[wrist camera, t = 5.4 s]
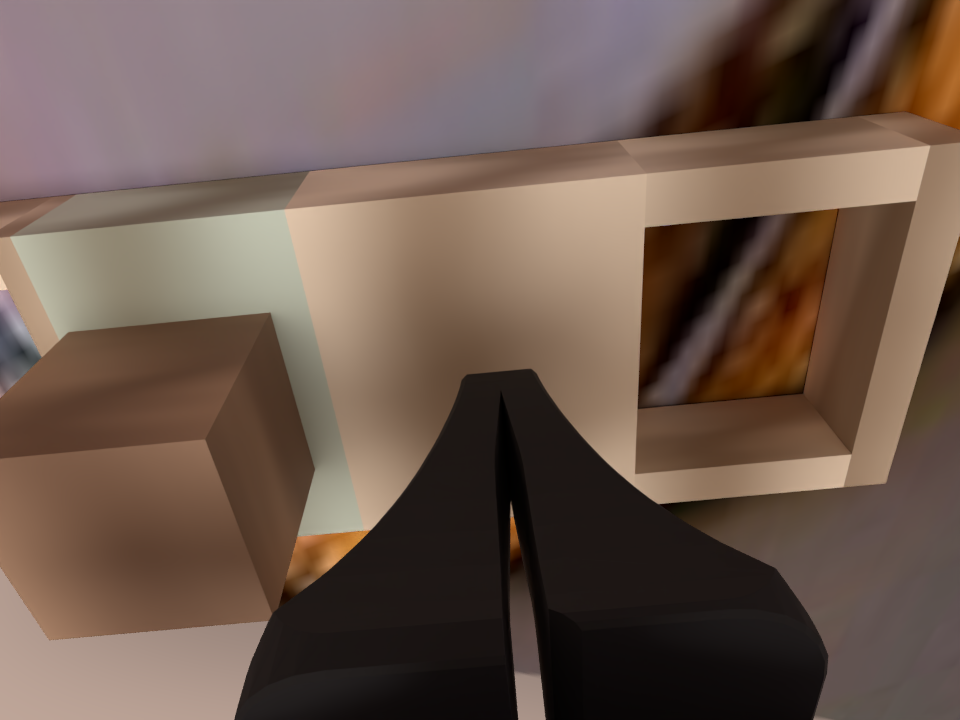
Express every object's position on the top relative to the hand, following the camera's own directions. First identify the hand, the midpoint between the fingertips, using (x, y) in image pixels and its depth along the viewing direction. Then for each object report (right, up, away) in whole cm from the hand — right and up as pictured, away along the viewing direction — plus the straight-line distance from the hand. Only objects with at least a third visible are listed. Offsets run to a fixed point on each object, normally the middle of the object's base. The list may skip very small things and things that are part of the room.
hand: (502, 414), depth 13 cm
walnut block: (-6, 0, +1) cm, 6 cm away
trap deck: (-3, +2, +3) cm, 5 cm away
